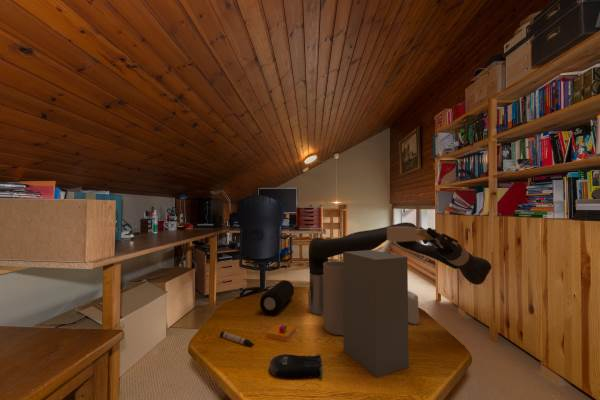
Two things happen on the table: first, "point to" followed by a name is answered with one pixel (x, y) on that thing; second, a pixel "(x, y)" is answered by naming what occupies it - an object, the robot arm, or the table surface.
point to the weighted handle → (407, 234)
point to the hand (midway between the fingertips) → (424, 229)
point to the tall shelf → (376, 310)
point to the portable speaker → (276, 297)
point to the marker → (236, 339)
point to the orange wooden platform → (281, 332)
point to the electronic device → (296, 366)
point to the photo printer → (413, 308)
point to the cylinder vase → (333, 297)
